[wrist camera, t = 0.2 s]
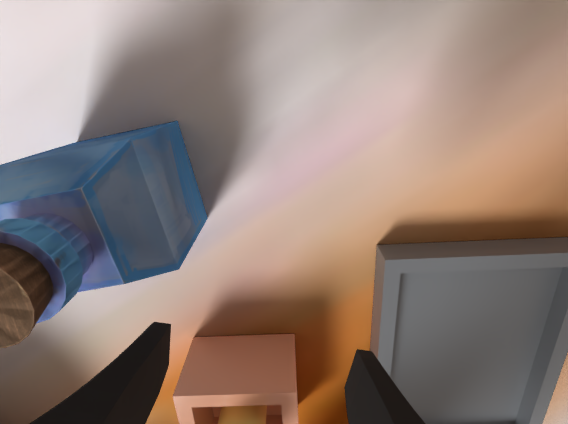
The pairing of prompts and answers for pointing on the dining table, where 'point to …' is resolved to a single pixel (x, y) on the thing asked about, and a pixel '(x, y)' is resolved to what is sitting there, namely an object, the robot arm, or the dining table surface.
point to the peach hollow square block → (238, 378)
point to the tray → (473, 327)
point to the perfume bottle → (92, 220)
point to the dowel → (243, 414)
